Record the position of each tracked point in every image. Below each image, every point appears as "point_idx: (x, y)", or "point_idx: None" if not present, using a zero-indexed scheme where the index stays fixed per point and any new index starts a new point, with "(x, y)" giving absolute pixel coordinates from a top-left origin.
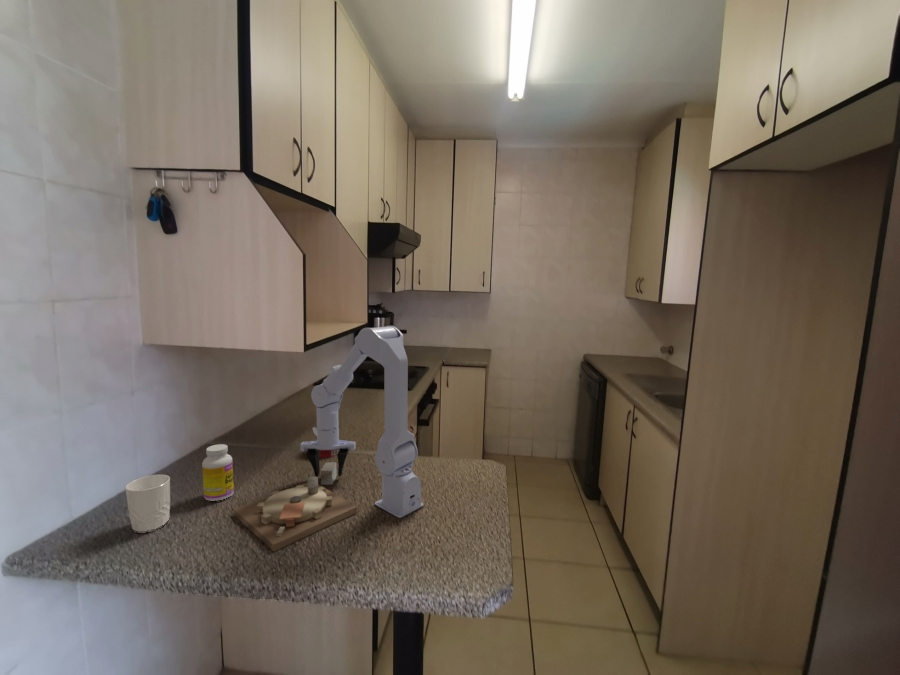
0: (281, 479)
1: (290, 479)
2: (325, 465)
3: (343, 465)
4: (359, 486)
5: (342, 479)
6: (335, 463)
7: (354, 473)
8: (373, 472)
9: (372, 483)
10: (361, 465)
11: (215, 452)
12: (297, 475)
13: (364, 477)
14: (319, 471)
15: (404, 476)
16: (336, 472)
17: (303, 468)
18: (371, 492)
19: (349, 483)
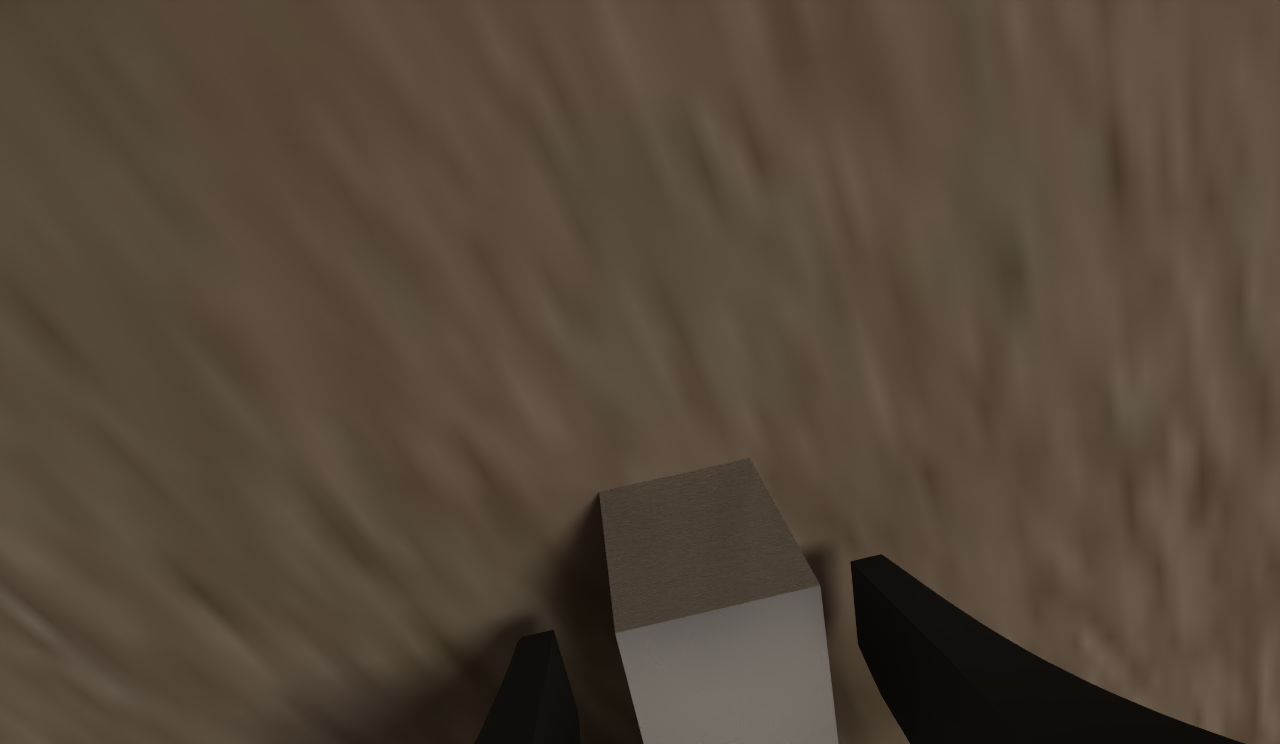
0: (44, 708)
1: (171, 682)
2: (672, 733)
3: (962, 617)
4: (1097, 644)
5: (865, 543)
6: (820, 632)
7: (985, 351)
8: (1253, 269)
9: (1236, 556)
10: (1051, 27)
11: None
12: (175, 569)
13: (1136, 438)
14: (554, 656)
15: None
16: (764, 490)
17: (71, 333)
18: (1226, 716)
19: (975, 611)
